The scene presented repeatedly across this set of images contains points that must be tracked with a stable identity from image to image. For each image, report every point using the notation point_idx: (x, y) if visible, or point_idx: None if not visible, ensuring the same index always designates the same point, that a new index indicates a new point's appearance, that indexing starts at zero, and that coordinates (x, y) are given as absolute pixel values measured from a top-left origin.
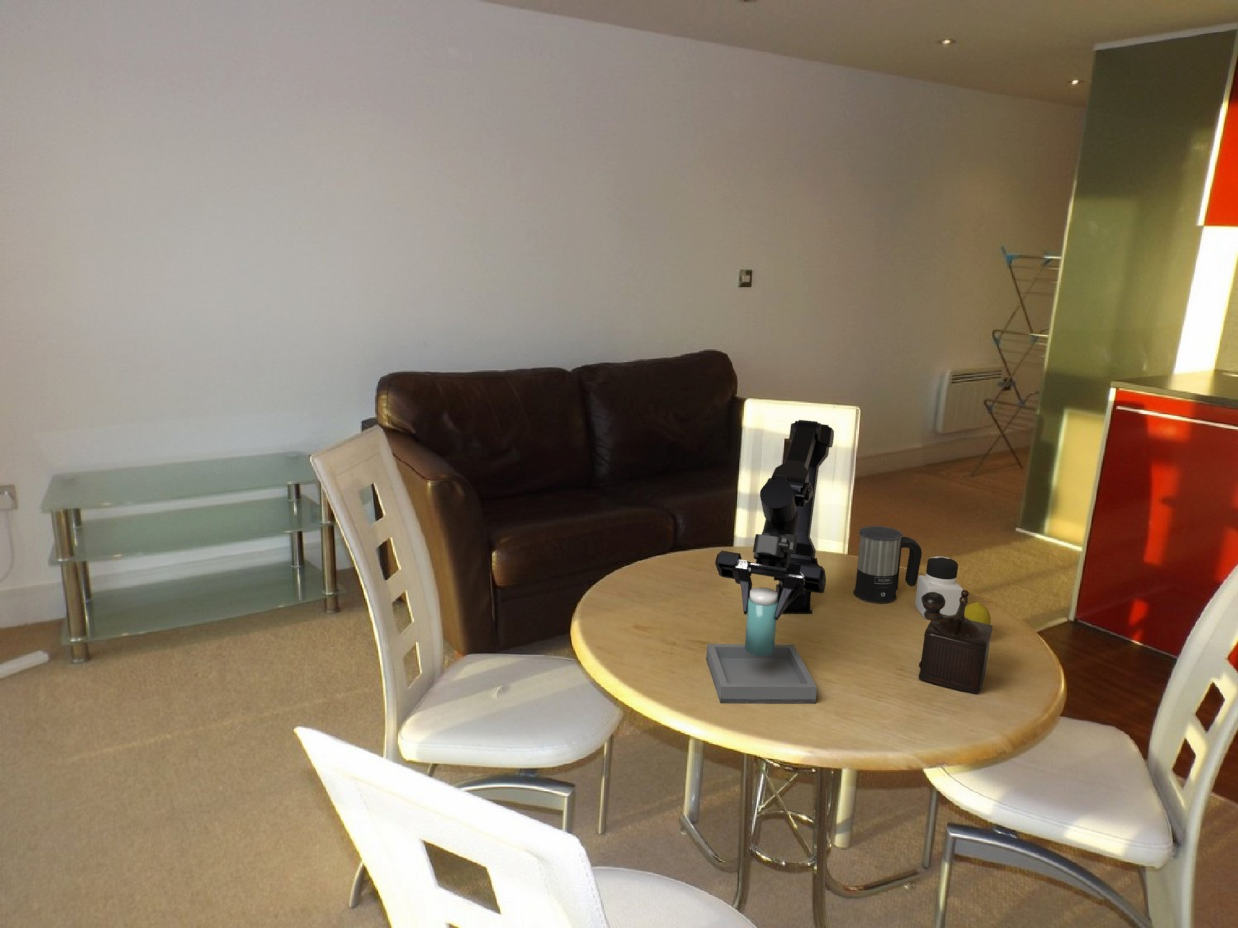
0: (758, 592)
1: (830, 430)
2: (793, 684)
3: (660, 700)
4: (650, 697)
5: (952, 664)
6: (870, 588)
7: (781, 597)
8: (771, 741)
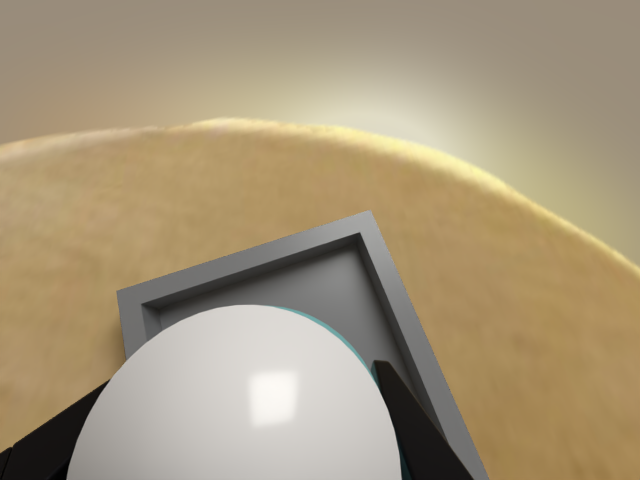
0: (297, 443)
1: None
2: (183, 284)
3: (486, 198)
4: (510, 203)
5: None
6: None
7: (41, 470)
8: (243, 126)
